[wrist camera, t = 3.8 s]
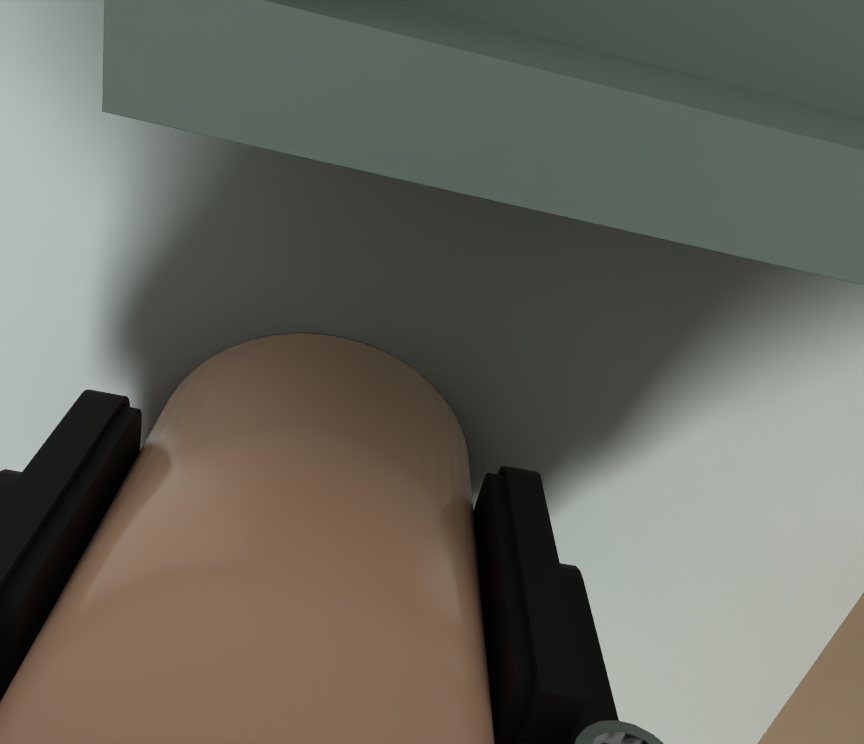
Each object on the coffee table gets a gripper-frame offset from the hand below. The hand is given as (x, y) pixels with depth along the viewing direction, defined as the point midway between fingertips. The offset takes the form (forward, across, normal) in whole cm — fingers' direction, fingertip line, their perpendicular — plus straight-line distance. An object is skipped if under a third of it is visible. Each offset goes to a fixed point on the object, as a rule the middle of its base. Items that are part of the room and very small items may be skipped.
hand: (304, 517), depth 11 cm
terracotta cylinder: (+1, 0, 0) cm, 1 cm away
